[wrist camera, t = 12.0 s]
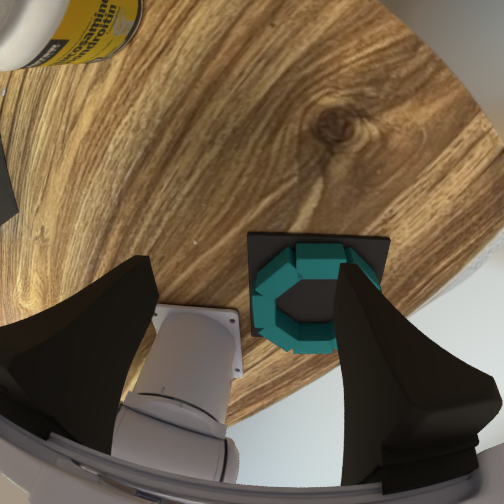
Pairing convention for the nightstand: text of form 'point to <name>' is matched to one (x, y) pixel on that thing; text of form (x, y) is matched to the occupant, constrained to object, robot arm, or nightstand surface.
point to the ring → (284, 277)
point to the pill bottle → (64, 31)
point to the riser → (5, 192)
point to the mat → (309, 290)
